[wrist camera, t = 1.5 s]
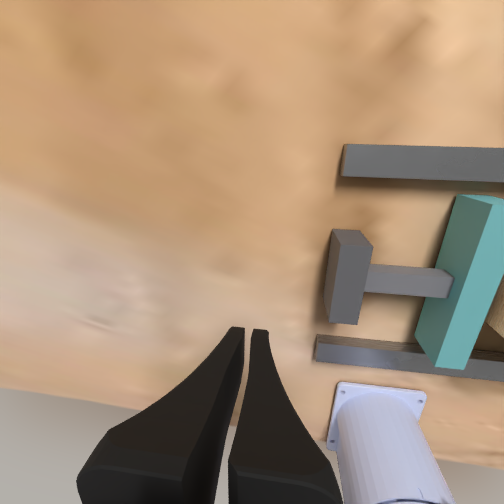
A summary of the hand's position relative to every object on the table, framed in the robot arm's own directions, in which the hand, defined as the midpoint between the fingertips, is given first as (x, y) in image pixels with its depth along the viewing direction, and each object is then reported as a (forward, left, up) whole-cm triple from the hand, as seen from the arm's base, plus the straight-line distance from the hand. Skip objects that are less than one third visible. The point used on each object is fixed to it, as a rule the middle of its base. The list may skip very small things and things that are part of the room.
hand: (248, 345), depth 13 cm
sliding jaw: (0, -10, -10) cm, 14 cm away
